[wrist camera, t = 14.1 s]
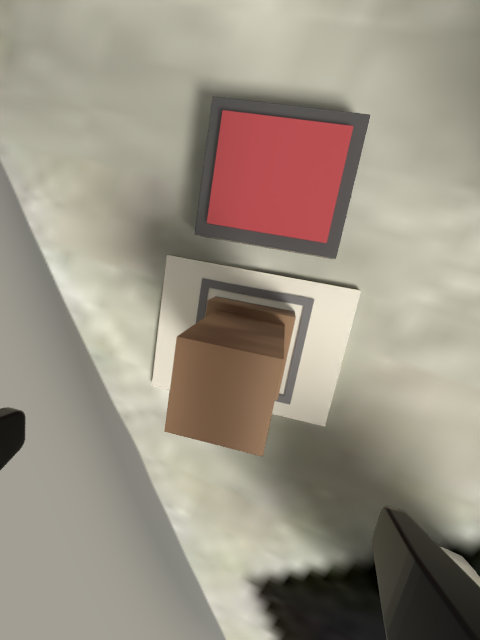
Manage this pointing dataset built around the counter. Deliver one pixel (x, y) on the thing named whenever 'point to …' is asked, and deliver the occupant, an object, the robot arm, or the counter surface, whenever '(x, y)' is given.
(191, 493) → the counter surface
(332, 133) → the ink pad
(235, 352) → the stamp
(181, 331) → the paper sheet
